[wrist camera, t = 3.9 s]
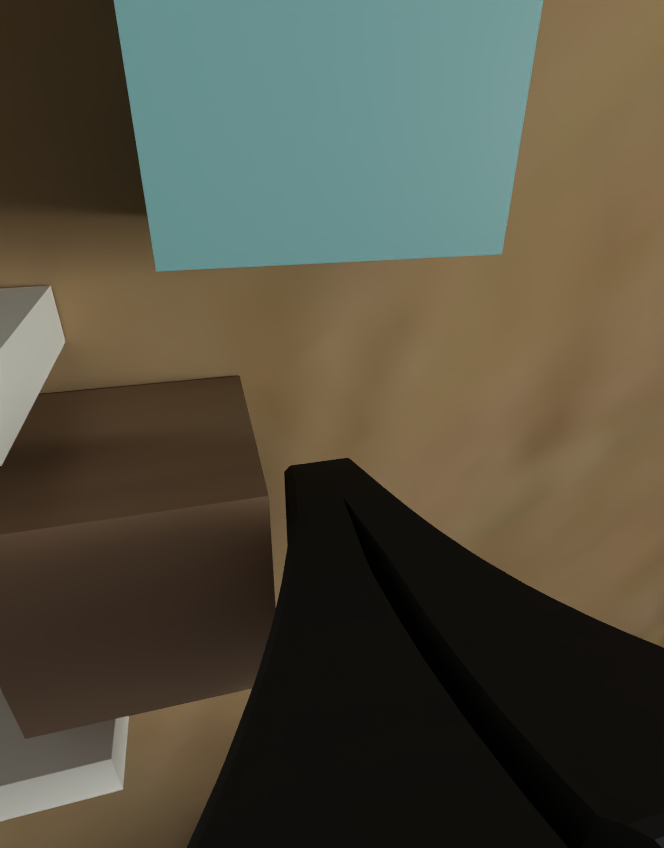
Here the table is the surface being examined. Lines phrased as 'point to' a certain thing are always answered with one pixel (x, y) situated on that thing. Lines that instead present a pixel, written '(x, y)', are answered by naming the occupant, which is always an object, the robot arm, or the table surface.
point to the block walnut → (132, 553)
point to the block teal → (326, 126)
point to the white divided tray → (3, 739)
